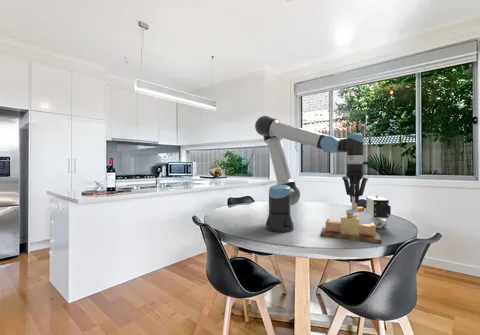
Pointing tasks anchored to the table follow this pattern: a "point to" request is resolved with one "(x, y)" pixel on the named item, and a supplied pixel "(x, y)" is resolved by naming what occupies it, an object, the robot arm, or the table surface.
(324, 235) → the pipe board
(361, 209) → the lever
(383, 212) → the ball valve
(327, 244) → the table surface
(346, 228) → the valve body
